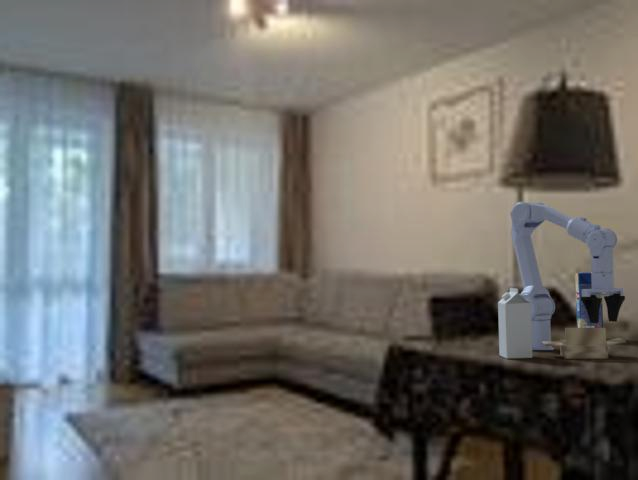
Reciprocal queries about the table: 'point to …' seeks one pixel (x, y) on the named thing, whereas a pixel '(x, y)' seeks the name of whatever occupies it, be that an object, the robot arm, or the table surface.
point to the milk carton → (514, 326)
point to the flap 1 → (585, 336)
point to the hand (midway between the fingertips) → (603, 322)
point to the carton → (579, 350)
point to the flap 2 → (615, 341)
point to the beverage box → (582, 316)
